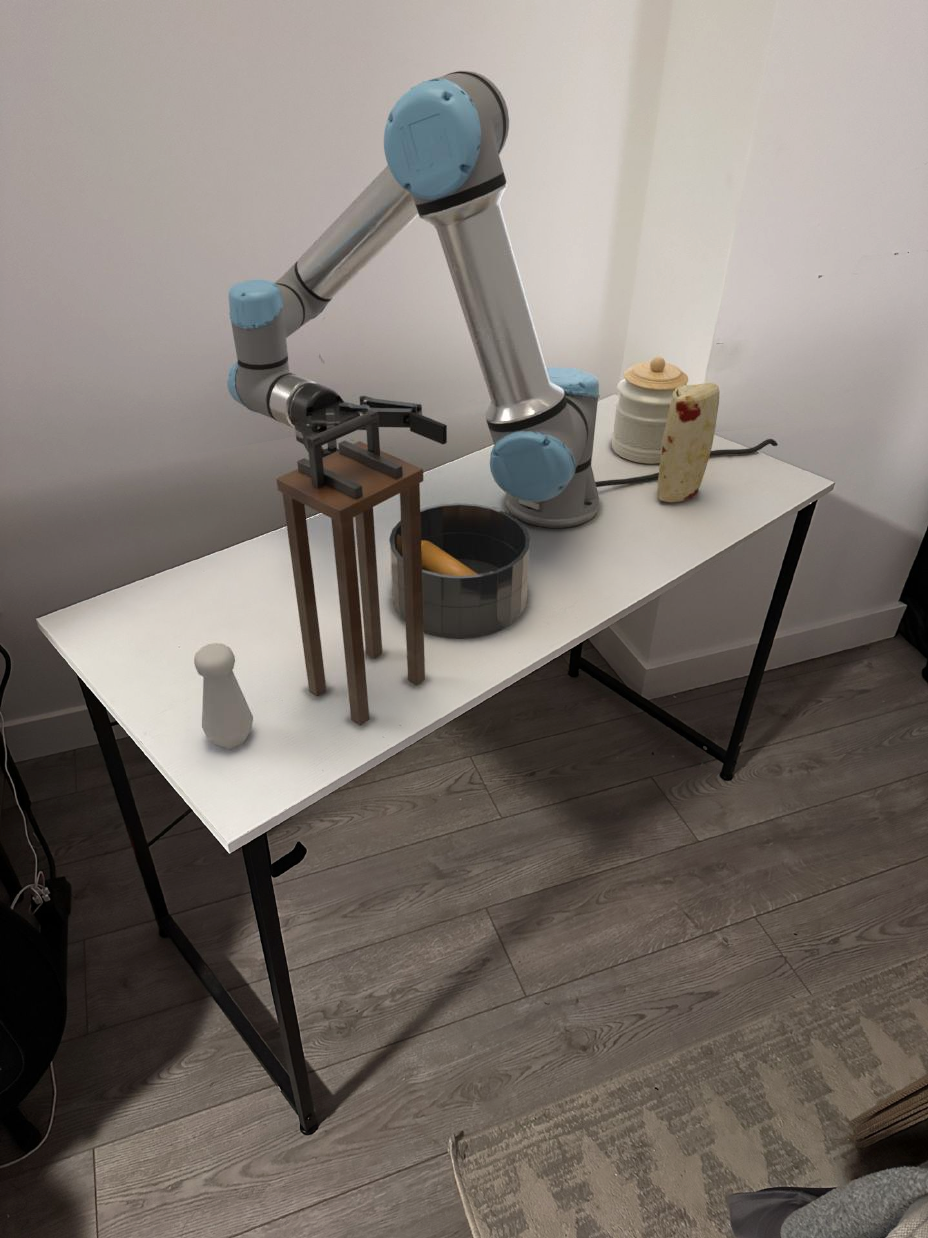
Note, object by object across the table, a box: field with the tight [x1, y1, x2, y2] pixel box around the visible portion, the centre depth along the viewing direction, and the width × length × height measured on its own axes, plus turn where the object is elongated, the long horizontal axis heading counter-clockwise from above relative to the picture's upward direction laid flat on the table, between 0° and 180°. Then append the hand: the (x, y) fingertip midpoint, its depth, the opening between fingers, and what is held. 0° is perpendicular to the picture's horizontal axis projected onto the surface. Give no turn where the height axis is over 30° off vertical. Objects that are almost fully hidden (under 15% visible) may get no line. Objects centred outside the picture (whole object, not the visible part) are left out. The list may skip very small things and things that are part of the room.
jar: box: [611, 356, 689, 465], centre depth 160 cm, size 13×13×18 cm
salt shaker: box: [193, 642, 254, 750], centre depth 101 cm, size 6×6×13 cm
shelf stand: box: [275, 410, 426, 726], centre depth 101 cm, size 10×12×36 cm
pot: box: [388, 502, 531, 640], centre depth 124 cm, size 19×19×10 cm
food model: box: [657, 382, 720, 503], centre depth 145 cm, size 10×7×20 cm
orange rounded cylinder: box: [421, 540, 478, 576], centre depth 126 cm, size 15×4×4 cm, turn 49°
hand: (411, 451), depth 120 cm, fingers open, 13 cm apart
